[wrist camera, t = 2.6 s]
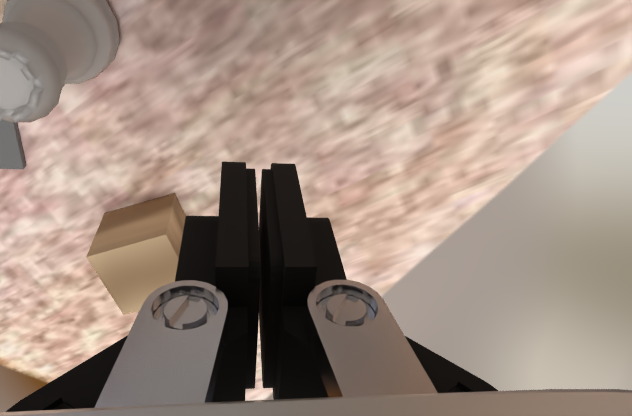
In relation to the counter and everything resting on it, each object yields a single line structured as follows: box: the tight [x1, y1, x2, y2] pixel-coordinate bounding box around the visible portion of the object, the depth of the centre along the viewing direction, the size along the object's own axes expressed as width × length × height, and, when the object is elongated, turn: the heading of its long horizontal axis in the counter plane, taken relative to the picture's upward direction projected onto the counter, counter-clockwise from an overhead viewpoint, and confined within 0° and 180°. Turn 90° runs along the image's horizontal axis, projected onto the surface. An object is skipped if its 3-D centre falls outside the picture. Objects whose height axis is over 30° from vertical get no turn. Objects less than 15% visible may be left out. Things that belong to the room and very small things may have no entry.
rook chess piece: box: [0, 0, 120, 123], centre depth 19 cm, size 4×4×8 cm
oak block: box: [87, 193, 186, 315], centre depth 27 cm, size 4×4×4 cm
